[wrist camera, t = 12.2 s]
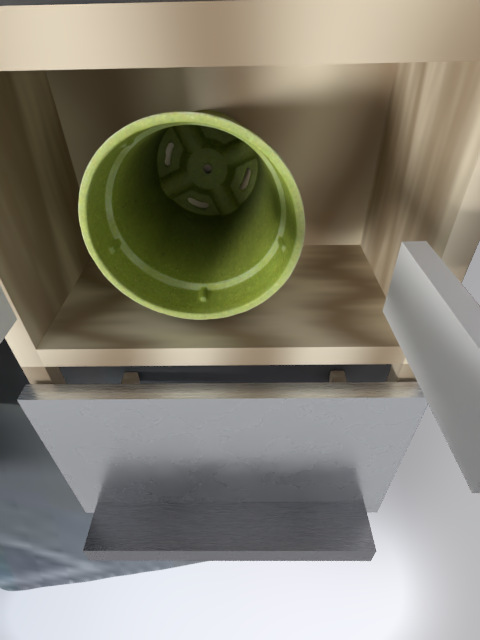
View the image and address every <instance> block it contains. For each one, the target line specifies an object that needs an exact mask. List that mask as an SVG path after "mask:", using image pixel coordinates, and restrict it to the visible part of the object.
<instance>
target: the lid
mask: <svg viewBox="0 0 480 640" xmlns="http://www.w3.org/2000/svg"><path fill="white" fill-rule="evenodd" d="M17 401H18V403H19V404H20V406H21V407H22V409H23V411H24V412H25V414H26V416H27V417H28V419H29V420H30V422H31V424H32V425H33V427H34V429H35V430H36V432H37V433H38V435H39V437H40V438H41V440H42V442H43V443H44V445H45V446H46V448H47V450H48V451H49V453H50V455H51V456H52V458H53V459H54V461H55V463H56V464H57V466H58V468H59V469H60V471H61V472H62V474H63V476H64V477H65V479H66V481H67V482H68V484H69V485H70V487H71V489H72V490H73V492H74V494H75V495H76V497H77V498H78V500H79V502H80V503H81V505H82V507H83V508H84V510H85V511H86V513H94V515H93V518H92V522H91V525H90V529H89V532H88V536H87V539H86V542H85V546H84V549H83V552H84V553H85V554H86V556H87V557H88V558H89V560H179V561H215V560H216V561H217V560H218V561H223V560H225V561H237V560H238V561H239V560H240V561H272V560H273V561H371V559H372V558H373V556H374V554H375V552H376V549H375V545H374V540H373V537H372V532H371V528H370V524H369V520H368V516H367V512H377V511H378V509H379V507H380V505H381V503H382V501H383V499H384V497H385V494H386V492H387V490H388V488H389V486H390V484H391V482H392V480H393V477H394V475H395V473H396V471H397V469H398V467H399V465H400V462H401V460H402V458H403V456H404V454H405V452H406V450H407V448H408V445H409V443H410V441H411V439H412V437H413V435H414V433H415V431H416V429H417V427H418V424H419V422H420V420H421V418H422V416H423V414H424V412H425V410H426V407H427V405H428V402H427V400H426V398H425V396H424V394H423V392H422V390H421V388H420V386H419V384H418V382H320V383H173V384H27V385H25V387H24V388H23V390H22V392H21V394H20V395H19V397H18V399H17Z"/></svg>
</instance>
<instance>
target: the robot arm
mask: <svg viewBox="0 0 480 640" xmlns="http://www.w3.org/2000/svg"><path fill="white" fill-rule="evenodd" d="M383 313H384V315H385V317H386V319H387V321H388V323H389V325H390V327H391V329H392V331H393V333H394V335H395V337H396V339H397V341H398V343H399V345H400V347H401V349H402V351H403V353H404V355H405V358H406V360H407V362H408V364H409V366H410V368H411V370H412V372H413V374H414V376H415V378H416V380H417V382H418V384H419V386H420V388H421V390H422V392H423V394H424V396H425V398H426V400H427V402H428V404H429V406H430V408H431V410H432V412H433V414H434V416H435V418H436V420H437V422H438V424H439V427H440V428H441V431H442V433H443V434H444V437H445V439H446V441H447V443H448V445H449V447H450V449H451V451H452V453H453V454H454V457H455V459H456V461H457V463H458V465H459V467H460V469H461V471H462V473H463V475H464V477H465V479H466V481H467V484H468V486H469V488H470V490H471V491H472V493H480V305H479V304H478V303H477V302H476V301H475V300H474V298H473V297H472V296H471V294H470V293H469V292H468V291H467V290H466V288H465V287H464V286H463V285H462V284H461V282H460V281H459V280H458V279H457V278H456V276H455V275H454V274H453V273H452V271H451V270H450V269H449V268H448V267H447V265H446V264H445V263H444V262H443V261H442V259H441V258H440V257H439V256H438V255H437V253H436V252H435V251H434V250H433V248H432V247H431V246H430V245H429V244H428V242H427V241H406V242H402V243H401V247H400V250H399V254H398V257H397V261H396V265H395V268H394V272H393V275H392V279H391V283H390V286H389V290H388V293H387V297H386V301H385V304H384V308H383ZM16 320H17V318H16V316H15V314H14V312H13V310H12V308H11V306H10V304H9V302H8V300H7V298H6V296H5V294H4V292H3V290H2V288H1V286H0V344H1V342H2V341H3V339H4V338H5V336H6V335H7V333H8V332H9V330H10V329H11V328H12V326H13V325H14V323H15V322H16Z"/></svg>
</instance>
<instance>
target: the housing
mask: <svg viewBox="0 0 480 640" xmlns="http://www.w3.org/2000/svg"><path fill="white" fill-rule="evenodd" d="M197 110H212V111H217V112H221V113H224V114H226V115H228V116H230V117H232V118H233V119H235V120H236V121H237V122H239V123H240V124H241V125H243V126H244V127H246V128H248V129H250V130H251V131H253V132H254V133H256V134H257V135H258V136H260V137H261V138H262V139H263V140H265V141H266V142H267V143H268V144H269V145H270V146H271V147H272V148H273V149H274V150H275V151H276V152H277V153H278V154H279V156H280V157H281V158H282V159H283V161H284V162H285V164H286V165H287V167H288V168H289V170H290V172H291V173H292V175H293V177H294V180H295V182H296V184H297V186H298V189H299V192H300V195H301V198H302V202H303V207H304V214H305V237H304V243H303V248H302V252H301V255H300V257H299V259H298V262H297V264H296V266H295V268H294V270H293V272H292V274H291V275H290V277H289V278H288V280H287V281H286V282H285V283H284V285H283V286H282V287H281V288H280V289H279V290H278V291H277V292H276V293H274V294H273V295H272V296H271V297H270V298H268V299H267V300H266V301H264V302H263V303H261V304H260V305H258V306H256V307H254V308H252V309H250V310H248V311H246V312H243V313H239V314H236V315H233V316H229V317H224V318H218V319H207V320H194V319H184V318H179V317H174V316H169V315H166V314H163V313H159V312H157V311H153V310H151V309H149V308H147V307H145V306H143V305H141V304H139V303H137V302H135V301H134V300H132V299H131V298H129V297H128V296H126V295H125V294H123V293H122V292H121V291H120V290H118V289H117V288H116V287H115V286H114V285H113V284H112V283H111V282H110V281H109V280H108V279H107V278H106V277H105V276H104V275H103V273H102V272H101V271H100V269H99V268H98V266H97V265H96V263H95V261H94V260H93V259H92V257H91V255H90V254H89V252H88V249H87V247H86V245H85V242H84V239H83V236H82V232H81V227H80V222H79V214H78V202H79V191H80V186H81V182H82V178H83V175H84V173H85V170H86V168H87V166H88V164H89V162H90V160H91V159H92V157H93V156H94V154H95V153H96V151H97V150H98V149H99V148H100V147H101V146H102V144H103V143H104V142H105V141H106V140H107V139H108V138H109V137H111V136H112V135H113V134H114V133H116V132H117V131H119V130H120V129H122V128H123V127H125V126H127V125H128V124H130V123H132V122H134V121H137V120H139V119H141V118H144V117H147V116H150V115H154V114H158V113H163V112H170V111H197ZM224 132H225V131H224ZM226 133H227V132H226ZM173 148H174V144H173V143H169V144H168V146H167V148H166V158H165V164H166V165H167V166H170V160H171V154H172V151H173ZM203 170H204V172H205V173H210V172H211V170H212V167H211V165H209V164H206V165H205V166H204V169H203ZM250 173H251V171H250V170H249V168H247V169H246V172H245V176H244V180H243V182H242V184H241V186H240V189H244V188H246V186H247V185H248V182H249V178H250ZM188 201H189V202H190V203H191V204H193V205H195V206H198V207H200V208H207V207H209V204H208V203H205V202H199V201H197V200H195V199H193V198H188ZM406 241H427V242H428V244H429V245H430V246H431V247H432V248H433V250H434V251H435V252H436V253H437V255H438V256H439V257H440V258H441V259H442V261H443V262H444V263H445V264H446V265H447V267H448V268H449V269H450V270H451V271H452V273H453V274H454V275H455V276H456V278H457V279H458V280H459V281H460V282H461V283H462V281H463V279H464V276H465V274H466V271H467V269H468V267H469V264H470V262H471V260H472V257H473V255H474V253H475V250H476V248H477V245H478V243H479V241H480V0H235V1H193V2H151V3H109V4H67V5H25V6H0V286H1V288H2V290H3V292H4V294H5V296H6V298H7V300H8V302H9V304H10V306H11V308H12V310H13V312H14V314H15V316H16V318H17V320H16V322H15V323H14V325H13V326H12V328H11V329H10V330H9V332H8V333H7V335H6V336H5V339H6V341H7V343H8V345H9V346H10V348H11V350H12V352H13V354H14V355H15V357H16V359H17V361H18V363H19V364H20V366H21V368H22V370H23V372H24V373H25V375H26V377H27V379H28V381H29V382H30V384H66V382H65V380H64V377H63V375H62V373H61V371H60V369H59V367H70V366H201V365H333V364H392V366H391V369H390V371H389V374H388V377H387V380H386V382H417V380H416V378H415V376H414V374H413V372H412V370H411V368H410V366H409V364H408V362H407V360H406V358H405V355H404V353H403V351H402V349H401V347H400V345H399V343H398V341H397V339H396V337H395V335H394V333H393V331H392V329H391V327H390V325H389V323H388V321H387V319H386V317H385V315H384V313H383V308H384V304H385V301H386V297H387V293H388V290H389V286H390V283H391V279H392V275H393V272H394V268H395V265H396V261H397V257H398V254H399V250H400V247H401V243H402V242H406ZM329 381H330V382H347V381H346V377H345V373H344V371H331V372H330V377H329ZM139 382H140V380H139V376H138V372H125V373H124V376H123V379H122V382H121V384H139Z"/></svg>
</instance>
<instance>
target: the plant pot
mask: <svg viewBox="0 0 480 640" xmlns="http://www.w3.org/2000/svg"><path fill="white" fill-rule="evenodd" d="M224 131H225V132H224ZM226 132H227V133H226ZM169 143H173V144H174V148H173V151H172V154H171V160H170V166H167V165H166V164H165V158H166V148H167V146H168V144H169ZM206 164H209V165H211V167H212V170H211V172H210V173H205V172H204V170H203V169H204V166H205V165H206ZM247 168H249V170H250V171H251V173H250V178H249V182H248V185H247V186H246V188H244V189H240V186H241V184H242V182H243V180H244V176H245V172H246V169H247ZM188 198H193V199H195V200H197V201H199V202H205V203H208V204H209V207H207V208H200V207H198V206H195V205H193V204H191V203H190V202H189V201H188ZM78 214H79V222H80V227H81V232H82V236H83V239H84V242H85V245H86V247H87V249H88V252H89V254H90V255H91V257H92V259H93V260H94V261H95V263H96V265H97V266H98V268H99V269H100V271H101V272H102V273H103V275H104V276H105V277H106V278H107V279H108V280H109V281H110V282H111V283H112V284H113V285H114V286H115V287H116V288H117V289H118V290H120V291H121V292H122V293H123V294H125V295H126V296H128V297H129V298H131V299H132V300H134V301H135V302H137V303H139V304H141V305H143V306H145V307H147V308H149V309H151V310H153V311H157V312H159V313H163V314H166V315H169V316H174V317H179V318H184V319H194V320H207V319H218V318H224V317H229V316H233V315H236V314H239V313H243V312H246V311H248V310H250V309H252V308H254V307H256V306H258V305H260V304H261V303H263V302H264V301H266V300H267V299H268V298H270V297H271V296H272V295H273V294H274V293H276V292H277V291H278V290H279V289H280V288H281V287H282V286H283V285H284V283H285V282H286V281H287V280H288V278H289V277H290V275H291V274H292V272H293V270H294V268H295V266H296V264H297V262H298V259H299V257H300V255H301V252H302V248H303V243H304V237H305V214H304V207H303V202H302V198H301V195H300V192H299V189H298V186H297V184H296V182H295V180H294V177H293V175H292V173H291V172H290V170H289V168H288V167H287V165H286V164H285V162H284V161H283V159H282V158H281V157H280V156H279V154H278V153H277V152H276V151H275V150H274V149H273V148H272V147H271V146H270V145H269V144H268V143H267V142H266V141H265V140H263V139H262V138H261V137H260V136H258V135H257V134H256V133H254V132H253V131H251V130H250V129H248V128H246V127H244V126H243V125H241V124H240V123H239V122H237V121H236V120H235V119H233V118H232V117H230V116H228V115H226V114H224V113H221V112H217V111H212V110H197V111H170V112H163V113H158V114H154V115H150V116H147V117H144V118H141V119H139V120H137V121H134V122H132V123H130V124H128V125H127V126H125V127H123V128H122V129H120V130H119V131H117V132H116V133H114V134H113V135H112V136H111V137H109V138H108V139H107V140H106V141H105V142H104V143H103V144H102V146H101V147H100V148H99V149H98V150H97V151H96V153H95V154H94V156H93V157H92V159H91V160H90V162H89V164H88V166H87V168H86V170H85V173H84V175H83V178H82V182H81V186H80V191H79V202H78Z"/></svg>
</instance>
